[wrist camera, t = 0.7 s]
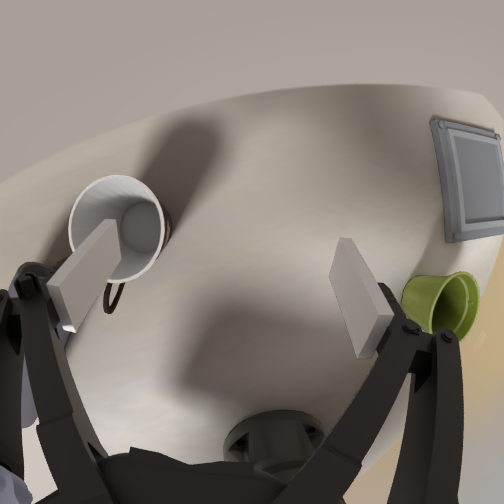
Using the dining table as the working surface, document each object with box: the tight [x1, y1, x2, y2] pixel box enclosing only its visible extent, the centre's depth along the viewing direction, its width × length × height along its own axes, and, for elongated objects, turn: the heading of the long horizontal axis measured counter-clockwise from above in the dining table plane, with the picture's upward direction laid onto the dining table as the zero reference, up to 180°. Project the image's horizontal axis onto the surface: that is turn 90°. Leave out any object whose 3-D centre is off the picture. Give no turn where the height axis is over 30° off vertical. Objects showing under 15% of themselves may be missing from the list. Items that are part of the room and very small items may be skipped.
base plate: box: [430, 119, 504, 243], centre depth 34 cm, size 18×18×2 cm
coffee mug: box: [68, 175, 172, 314], centre depth 26 cm, size 12×9×10 cm
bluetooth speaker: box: [8, 262, 70, 428], centre depth 25 cm, size 23×9×10 cm, turn 145°
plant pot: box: [401, 272, 480, 344], centre depth 31 cm, size 9×9×9 cm
